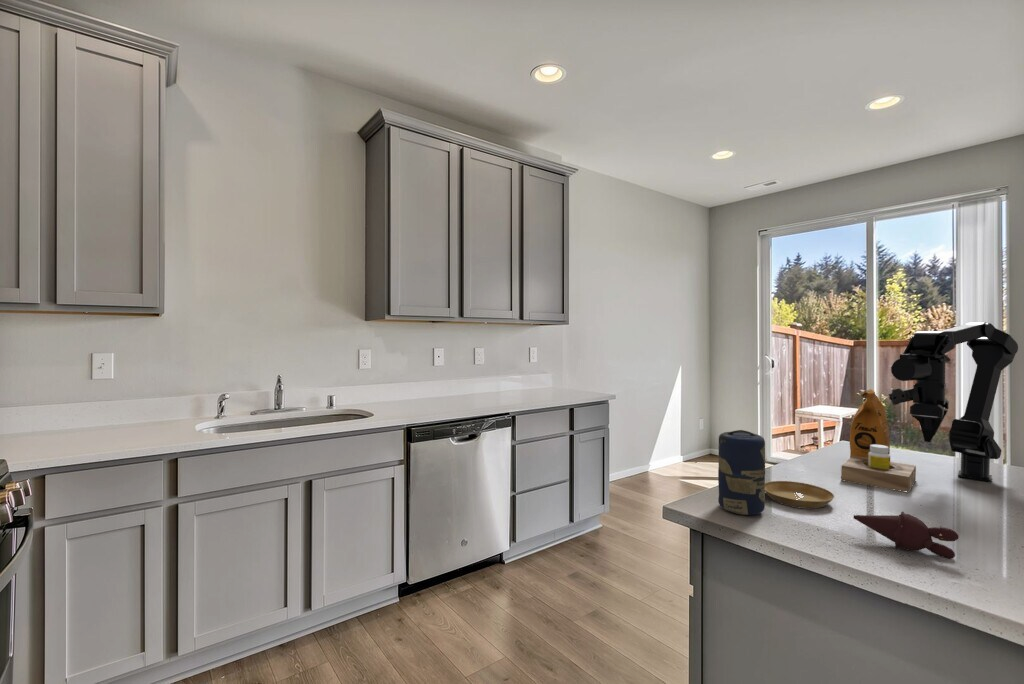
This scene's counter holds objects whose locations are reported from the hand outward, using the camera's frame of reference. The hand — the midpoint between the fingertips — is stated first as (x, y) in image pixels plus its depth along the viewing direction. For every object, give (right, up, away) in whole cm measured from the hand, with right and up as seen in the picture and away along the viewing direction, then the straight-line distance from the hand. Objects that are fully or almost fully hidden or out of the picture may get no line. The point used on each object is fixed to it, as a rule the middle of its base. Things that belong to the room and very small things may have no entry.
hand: (929, 438), depth 126 cm
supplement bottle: (-11, -11, +3) cm, 16 cm away
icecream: (-37, -13, -37) cm, 54 cm away
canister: (-58, -13, -18) cm, 62 cm away
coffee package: (-2, -12, +19) cm, 22 cm away
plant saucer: (-42, -13, -12) cm, 45 cm away
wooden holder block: (-11, -12, +3) cm, 16 cm away
